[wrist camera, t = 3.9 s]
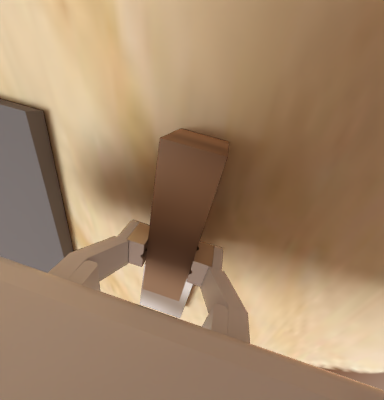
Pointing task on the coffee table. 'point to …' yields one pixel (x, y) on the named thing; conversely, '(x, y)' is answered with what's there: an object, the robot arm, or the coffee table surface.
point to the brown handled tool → (179, 215)
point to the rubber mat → (29, 191)
